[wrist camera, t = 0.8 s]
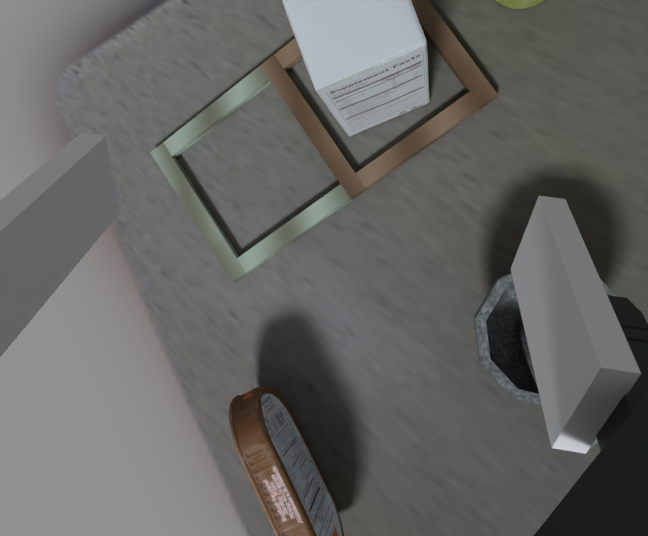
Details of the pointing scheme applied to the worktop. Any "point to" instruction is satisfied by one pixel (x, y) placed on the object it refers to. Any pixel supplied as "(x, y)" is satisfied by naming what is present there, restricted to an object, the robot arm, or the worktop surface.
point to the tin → (281, 466)
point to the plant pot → (519, 3)
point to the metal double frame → (316, 142)
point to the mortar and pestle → (508, 341)
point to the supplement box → (362, 57)
